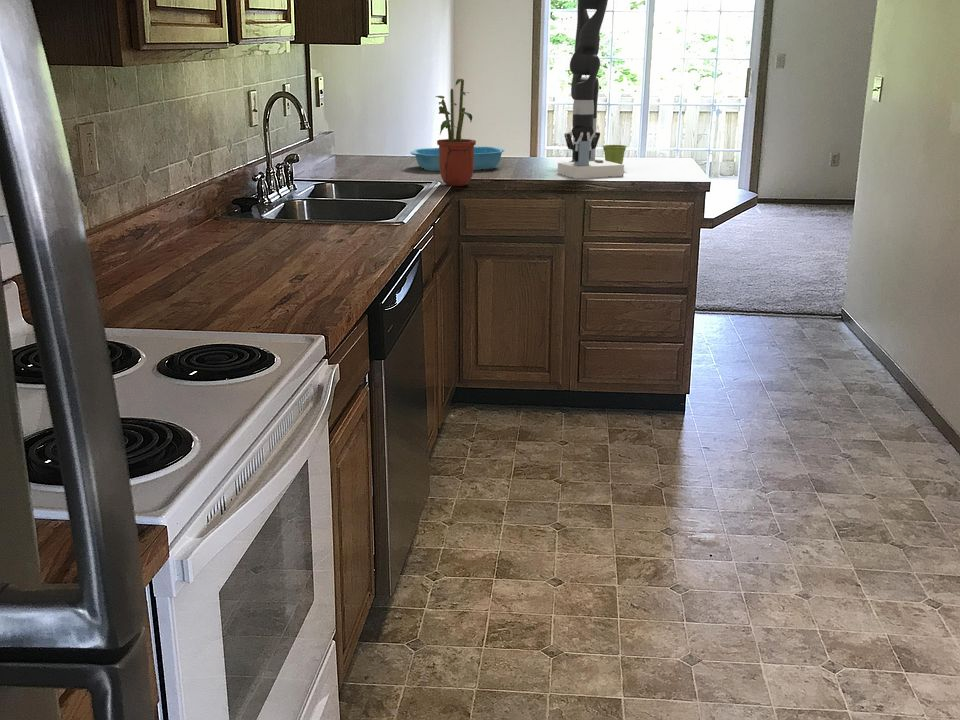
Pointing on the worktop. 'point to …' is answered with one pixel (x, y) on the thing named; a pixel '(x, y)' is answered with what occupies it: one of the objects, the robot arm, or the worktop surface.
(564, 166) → the outlet plate
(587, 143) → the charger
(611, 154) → the plant pot
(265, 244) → the worktop surface
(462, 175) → the potted plant
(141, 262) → the worktop surface
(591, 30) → the robot arm
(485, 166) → the casserole dish
